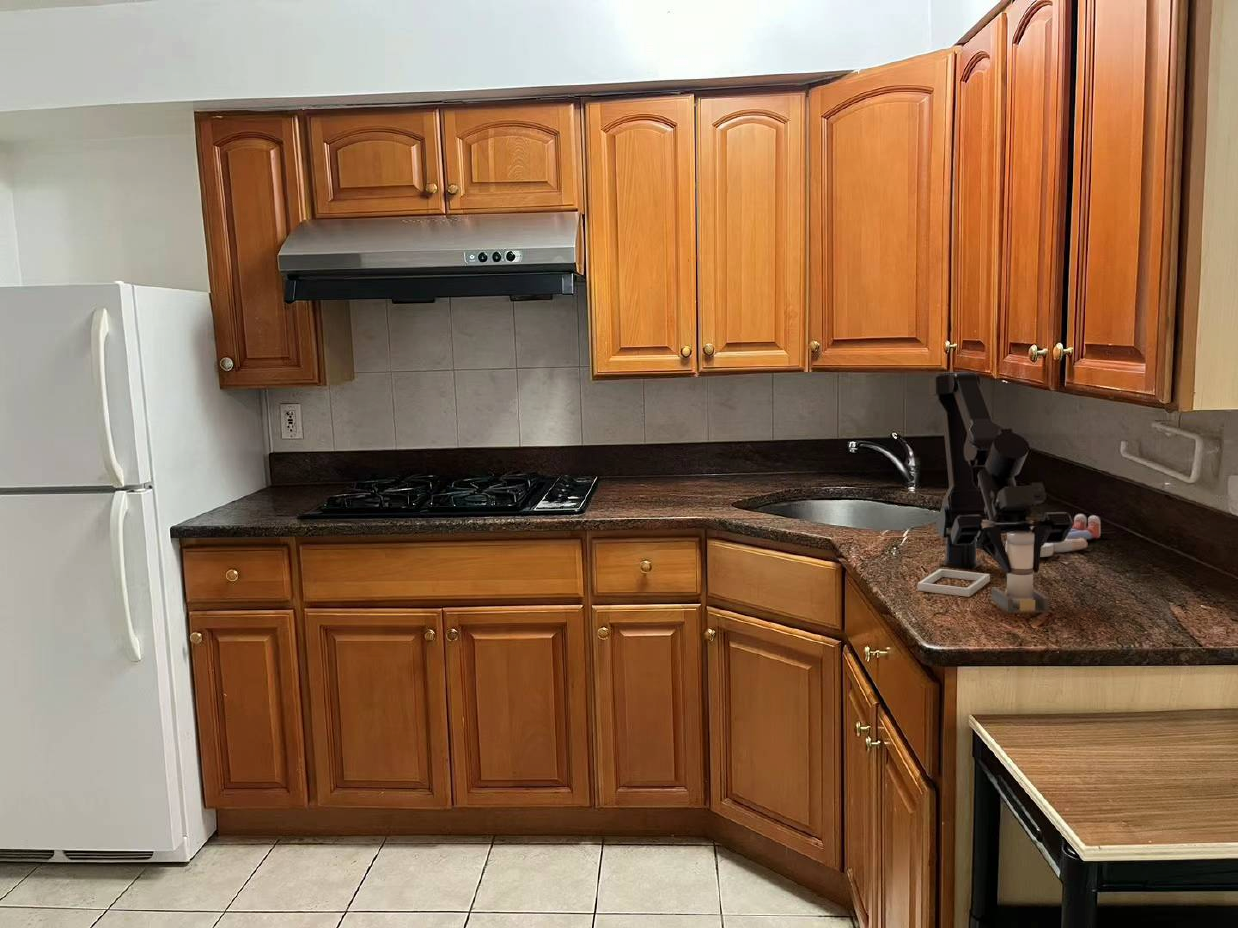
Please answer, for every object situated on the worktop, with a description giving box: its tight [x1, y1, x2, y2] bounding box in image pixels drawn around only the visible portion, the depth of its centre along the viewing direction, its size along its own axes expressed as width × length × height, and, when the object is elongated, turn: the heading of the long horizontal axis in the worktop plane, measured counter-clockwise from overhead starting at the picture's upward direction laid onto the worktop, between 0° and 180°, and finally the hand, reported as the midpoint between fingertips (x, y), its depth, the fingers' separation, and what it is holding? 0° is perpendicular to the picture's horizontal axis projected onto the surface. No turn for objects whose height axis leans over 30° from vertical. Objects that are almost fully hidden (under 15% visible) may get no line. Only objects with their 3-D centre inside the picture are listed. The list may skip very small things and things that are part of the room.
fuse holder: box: [988, 586, 1053, 614], centre depth 160 cm, size 9×7×3 cm
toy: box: [1005, 513, 1102, 558], centre depth 205 cm, size 6×13×30 cm
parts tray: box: [916, 568, 991, 598], centre depth 173 cm, size 12×9×2 cm
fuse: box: [1006, 531, 1035, 608], centre depth 159 cm, size 4×4×12 cm
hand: (1023, 571), depth 158 cm, fingers closed on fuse, 4 cm apart
